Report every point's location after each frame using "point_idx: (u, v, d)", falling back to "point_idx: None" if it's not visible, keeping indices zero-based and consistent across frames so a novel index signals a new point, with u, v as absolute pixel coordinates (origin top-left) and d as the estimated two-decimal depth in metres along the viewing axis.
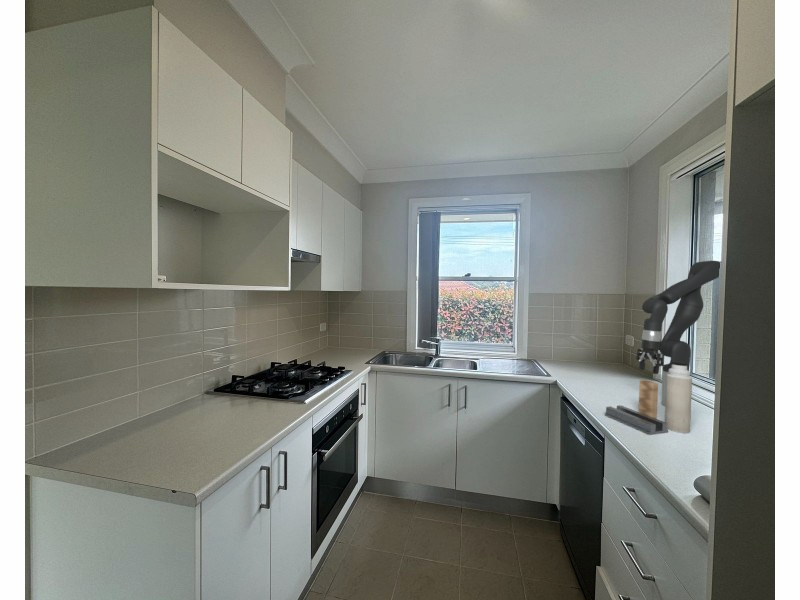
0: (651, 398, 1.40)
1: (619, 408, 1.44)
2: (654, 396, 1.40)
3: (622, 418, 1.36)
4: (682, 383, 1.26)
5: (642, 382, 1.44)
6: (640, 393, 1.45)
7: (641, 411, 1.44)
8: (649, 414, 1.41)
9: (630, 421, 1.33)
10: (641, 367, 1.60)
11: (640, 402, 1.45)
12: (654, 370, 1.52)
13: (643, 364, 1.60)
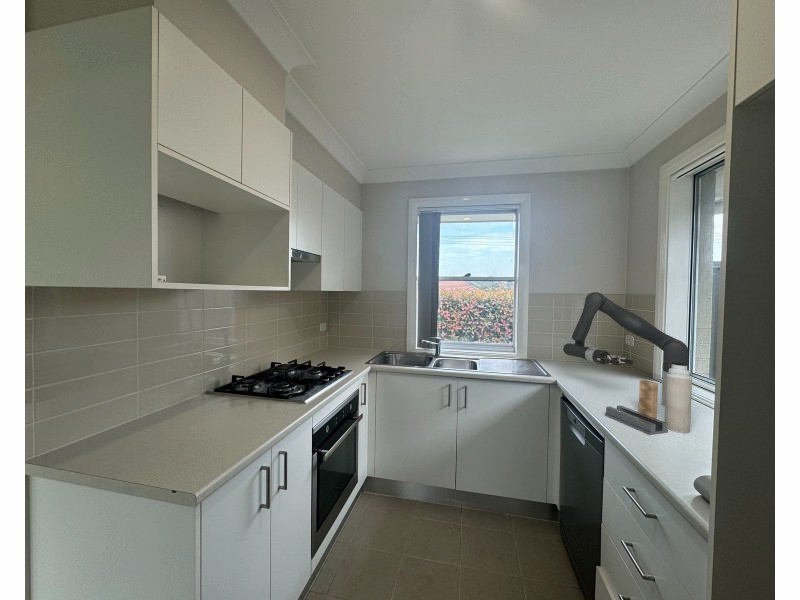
0: (651, 398, 1.40)
1: (619, 408, 1.44)
2: (654, 396, 1.40)
3: (622, 418, 1.36)
4: (682, 383, 1.26)
5: (642, 382, 1.44)
6: (640, 393, 1.45)
7: (641, 411, 1.44)
8: (649, 414, 1.41)
9: (630, 421, 1.33)
10: (629, 363, 1.55)
11: (640, 402, 1.45)
12: (615, 364, 1.54)
13: (626, 360, 1.57)
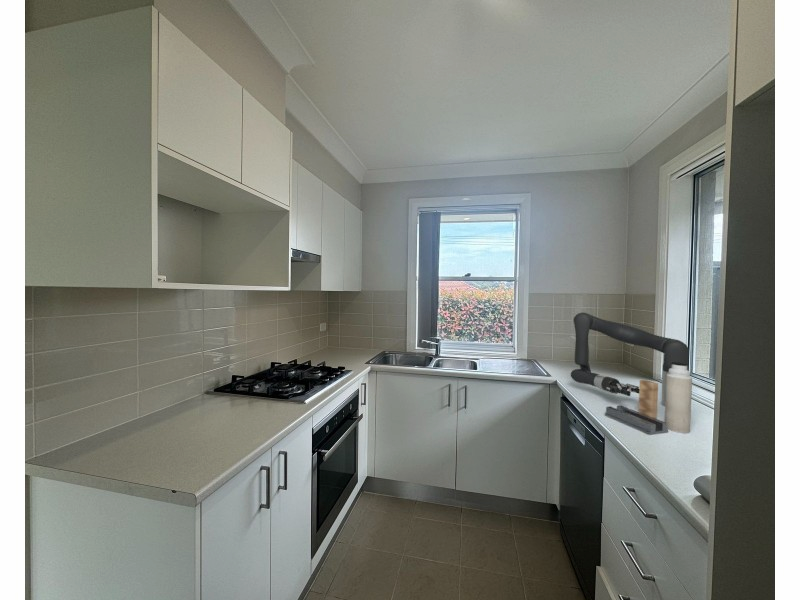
0: (651, 398, 1.40)
1: (619, 408, 1.44)
2: (654, 396, 1.40)
3: (622, 418, 1.36)
4: (682, 383, 1.26)
5: (642, 382, 1.44)
6: (640, 393, 1.45)
7: (641, 411, 1.44)
8: (649, 414, 1.41)
9: (630, 421, 1.33)
10: None
11: (640, 402, 1.45)
12: (625, 394, 1.49)
13: (637, 390, 1.52)
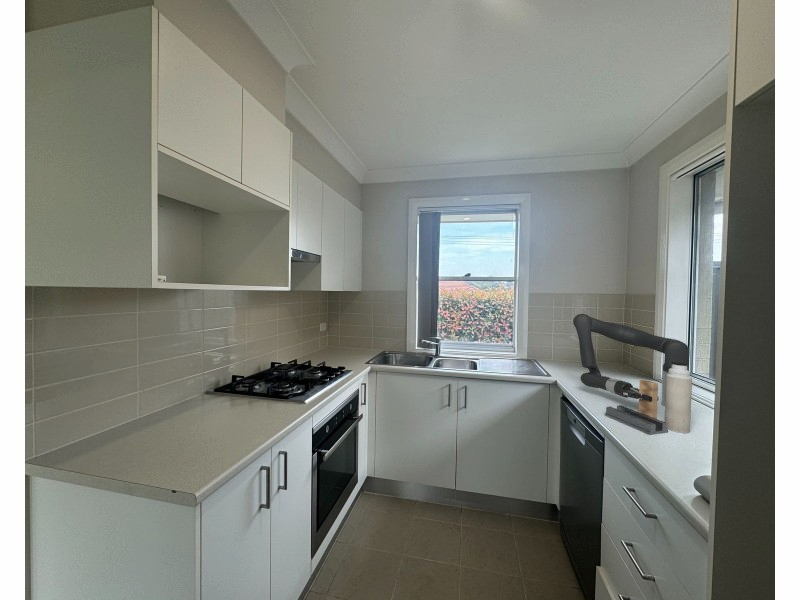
0: None
1: (619, 408, 1.44)
2: (654, 396, 1.40)
3: (622, 418, 1.36)
4: (682, 383, 1.26)
5: (642, 382, 1.44)
6: None
7: (641, 411, 1.44)
8: (649, 414, 1.41)
9: (630, 421, 1.33)
10: None
11: (640, 402, 1.45)
12: (647, 400, 1.41)
13: None
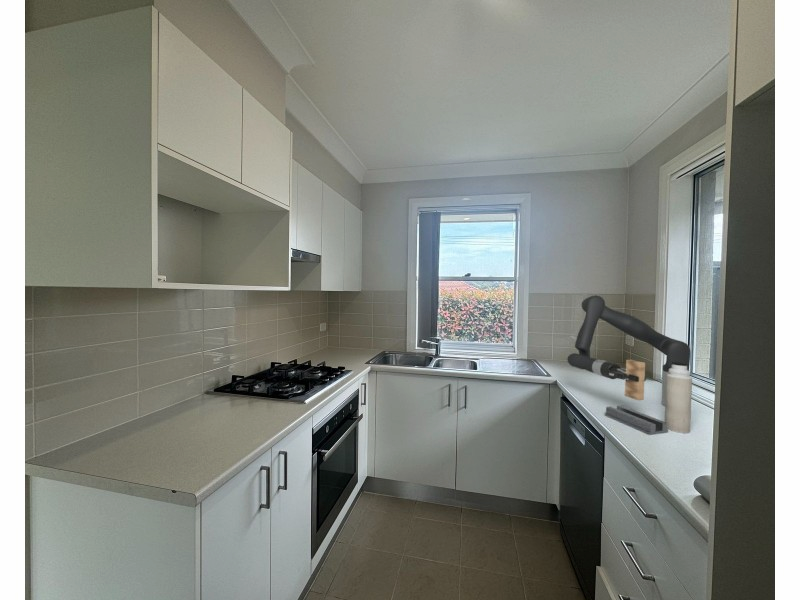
0: None
1: (619, 408, 1.44)
2: (641, 376, 1.32)
3: (622, 418, 1.36)
4: (682, 383, 1.26)
5: (629, 362, 1.37)
6: None
7: (627, 392, 1.37)
8: (635, 395, 1.34)
9: (630, 421, 1.33)
10: None
11: (626, 383, 1.38)
12: (633, 380, 1.34)
13: None
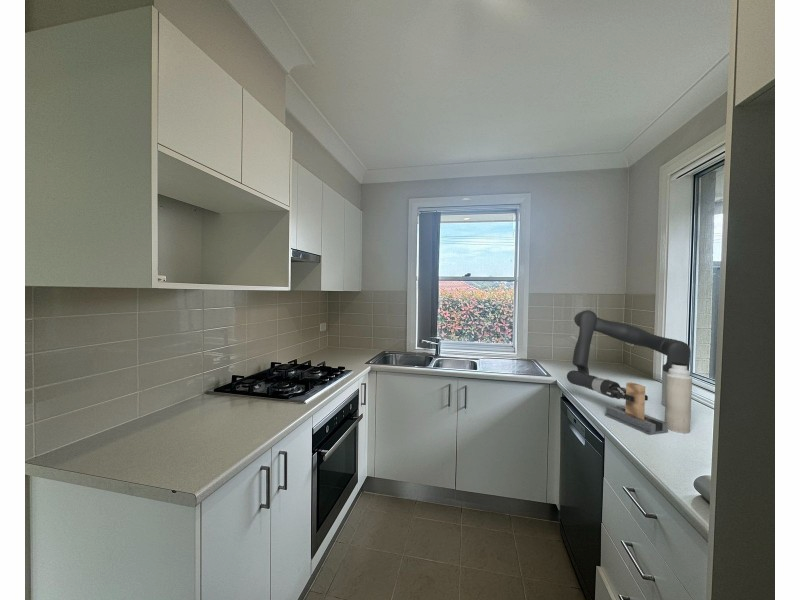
0: (638, 402, 1.32)
1: (619, 408, 1.44)
2: (641, 400, 1.32)
3: (622, 418, 1.36)
4: (682, 383, 1.26)
5: (629, 385, 1.36)
6: None
7: None
8: None
9: (630, 421, 1.33)
10: None
11: (627, 406, 1.37)
12: (629, 400, 1.33)
13: None
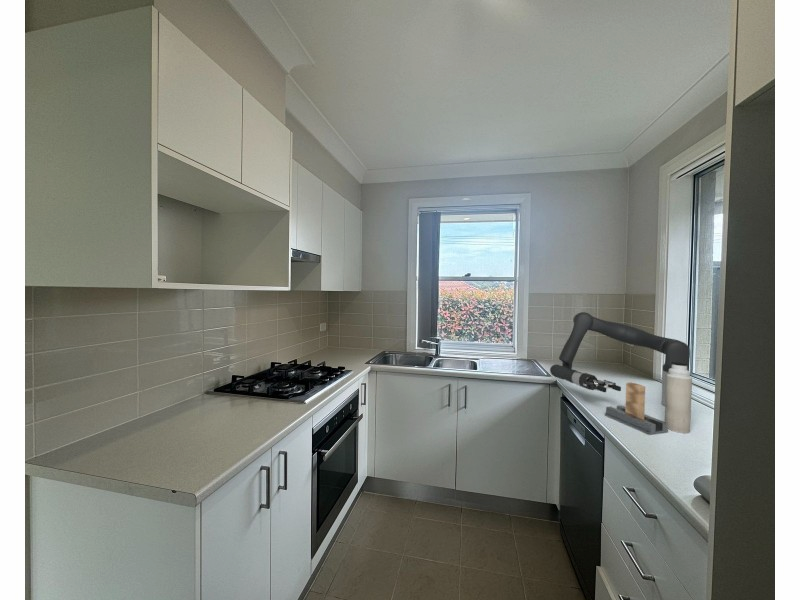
0: (638, 402, 1.32)
1: (619, 408, 1.44)
2: (641, 400, 1.32)
3: (622, 418, 1.36)
4: (682, 383, 1.26)
5: (629, 385, 1.36)
6: (626, 397, 1.37)
7: None
8: None
9: (630, 421, 1.33)
10: (617, 389, 1.47)
11: (627, 406, 1.37)
12: None
13: (614, 386, 1.49)
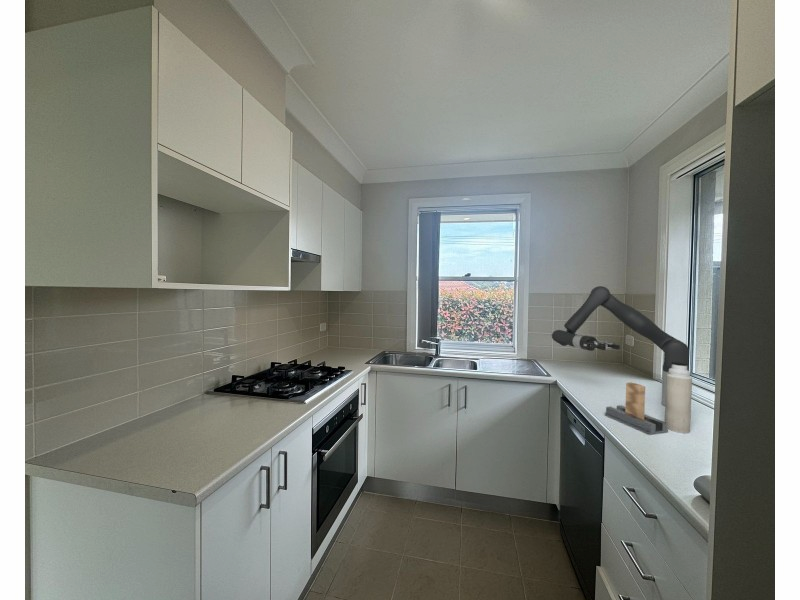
0: (638, 402, 1.32)
1: (619, 408, 1.44)
2: (641, 400, 1.32)
3: (622, 418, 1.36)
4: (682, 383, 1.26)
5: (629, 385, 1.36)
6: (626, 397, 1.37)
7: None
8: None
9: (630, 421, 1.33)
10: (616, 348, 1.53)
11: (627, 406, 1.37)
12: (601, 349, 1.51)
13: (613, 345, 1.54)
